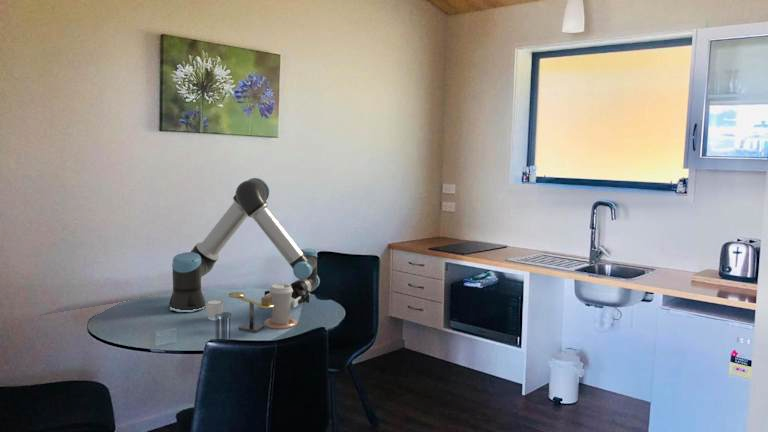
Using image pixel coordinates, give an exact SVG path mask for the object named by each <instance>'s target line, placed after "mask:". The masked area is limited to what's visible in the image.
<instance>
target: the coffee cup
mask: <svg viewBox="0 0 768 432" xmlns="http://www.w3.org/2000/svg"><path fill="white" fill-rule="evenodd" d="M268 291H269V292H271V297H272V303H273V304H274V307H273V308H271V316H272V317H271V318H273V323H275V324H286V323H288V322H289V318H290V315H291V314H290V313H291V304H292V297H291V296H292V292H293V289H292V287H291V284H289V283H275V284H272V285H271V287H270V288H269V290H268Z"/></svg>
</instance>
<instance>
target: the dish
mask: <svg viewBox="0 0 768 432" xmlns="http://www.w3.org/2000/svg"><path fill="white" fill-rule="evenodd" d="M297 325H298V322H297V319H295V318H293V317H289V322H288V323H286V324H275V323H273V318H272V317H270V318H267V319H265V320H264V327H266V328H269V329H274V330H286V329H291V328H295V326H297Z"/></svg>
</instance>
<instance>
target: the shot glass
mask: <svg viewBox="0 0 768 432" xmlns="http://www.w3.org/2000/svg"><path fill="white" fill-rule="evenodd" d="M205 306H206V307H205V309H206V317H207V316H208V317H209V318H214V317H215V315H216V314H221V313H222V314H223V306H224V301H223V300H220V299H219V300H218V299H212V300H207V301H205Z"/></svg>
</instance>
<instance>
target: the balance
mask: <svg viewBox="0 0 768 432" xmlns="http://www.w3.org/2000/svg"><path fill="white" fill-rule="evenodd" d="M263 296H264V295H263ZM263 296H262V297H261V301H260V302H261V303H260V302H258V301H255V300H252V299H250V298H247V297H245V292H241V291H232V292H230V293H228V297H229V298H235V299H238V300H241V301H244V302H246V303H249V309H248V310H249V312H248V313H249V322H245V323H244V324H242V325H240V326H239V327H238V331H243V332H249V333H255V334H256V333H257V334H258V333H259V332H261V331H262V330H263V329H264V328H265V324H254V320H255V319H254V313H255V312H254V310H255V309H254V307H255V306H257V307H258V308H259V309H266V310H268V309H272V308H273V307H274V304H273V303H272V297H269V296H264V297H263ZM254 305H255V306H254Z"/></svg>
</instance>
